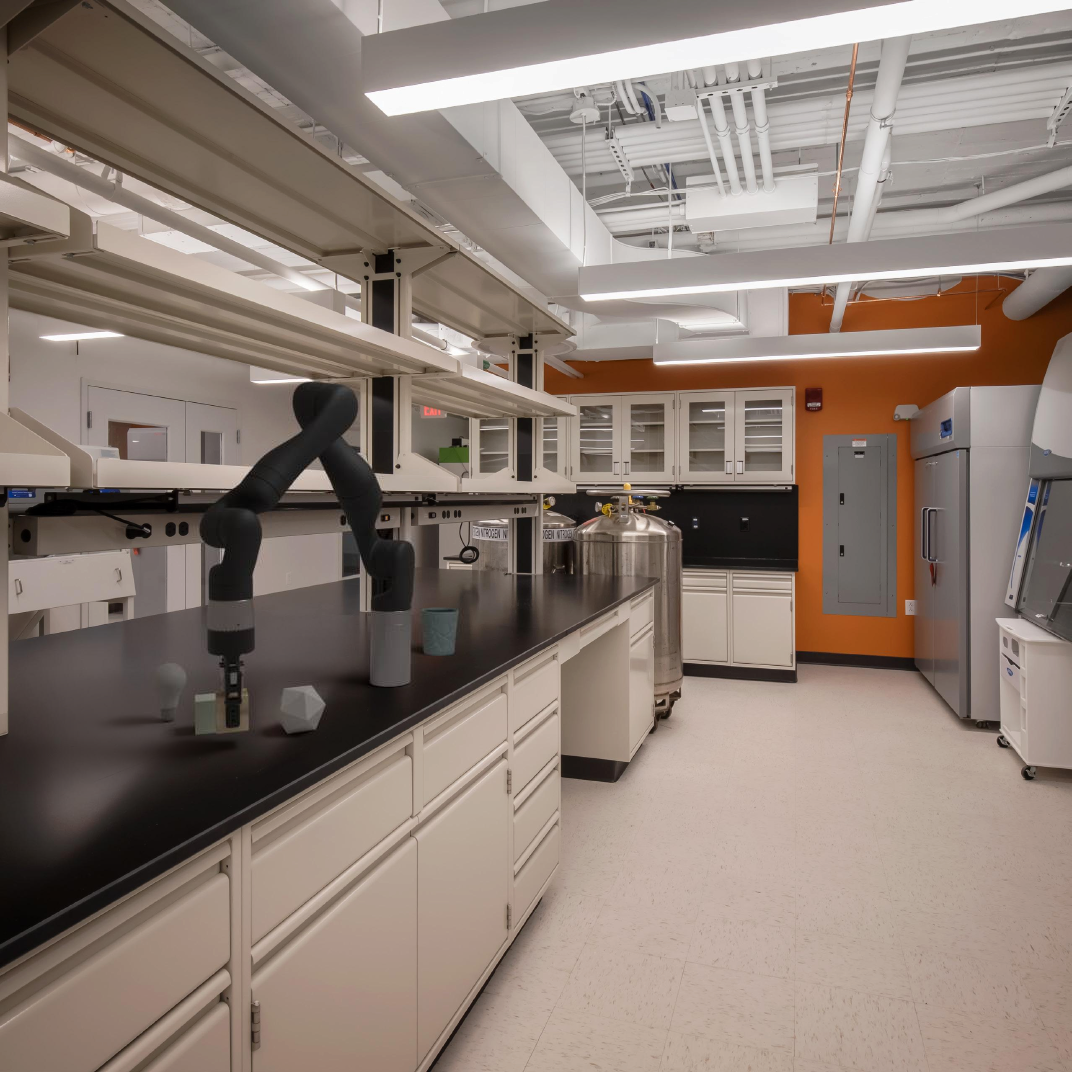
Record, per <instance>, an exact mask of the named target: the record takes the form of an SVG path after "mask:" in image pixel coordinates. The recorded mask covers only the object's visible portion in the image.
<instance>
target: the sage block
mask: <svg viewBox="0 0 1072 1072" xmlns="http://www.w3.org/2000/svg"><path fill="white" fill-rule="evenodd" d="M194 730H195V731H194V732H195V733H194V734H195V736H196V735H205V734H207V735H208V734H217V732H216V700H215V692H214V693H213V692H212V693H202V694H195V695H194Z"/></svg>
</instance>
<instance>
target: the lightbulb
mask: <svg viewBox="0 0 1072 1072" xmlns="http://www.w3.org/2000/svg"><path fill="white" fill-rule="evenodd" d="M149 682H150V686H151V688H152V690H153V692H154V693H155V695H156V696H157V699H158V704H159V705H158V706H159V708H160V716H161V719H162V720H165V721H166V722H171V721H172V720H173V719H174V718H176V717H177V707H178V706H179V697H180V695H181V693H182V691H183V689H184V687H185V686H186V683H187V674H186V671H185V669H184V668H183V667H182V666H180V665H179V664H177V663H174V662H166V663H163V664H160V665H159V666H157V667H156V668H155V669H154V670H153V672H151V675H150V680H149Z"/></svg>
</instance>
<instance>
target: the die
mask: <svg viewBox="0 0 1072 1072" xmlns="http://www.w3.org/2000/svg"><path fill="white" fill-rule="evenodd" d="M325 708H326V703H325V701H324V700H323V699H322V697H321V696H320V695H319V693H318V692H317V690H316V689H315V688H314V686H312V684H311V685H302V686H295V687H286V688H284V687H283V689H282V693H281V694H280V697H279V700H278V702H277V705H276V707H275V709H274V712H273V715H274V716H275V718H276V719H277V721H278V722H279V723H280V725H281V726H282V728H283V729H284V731H285V732H286V734H295V733H301V732H308V731H309V732H310V731H314V730H315V731H316V729H317V727H318V725H319V722H320V720H321V717H322V715H323V712H324V710H325Z"/></svg>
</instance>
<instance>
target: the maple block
mask: <svg viewBox="0 0 1072 1072" xmlns="http://www.w3.org/2000/svg"><path fill="white" fill-rule="evenodd" d="M247 690H248V689H247V688H244V687H243V690H242V691H241V699H242V703H241V705H240V726H239V727H236V728H227V727H226V707H225V705H224V701H225V694H224V693H223V692H222V691H221V690H215V692H214V693H215V700H216V732H217V733H216V735H219V734H227V733H236V732H246V731H249V728H250V727H249V726H250V725H249V713H250V712H249V711H250V710H249V693H248V691H247ZM235 697H237V693H230V694H229V698H235Z"/></svg>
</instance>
